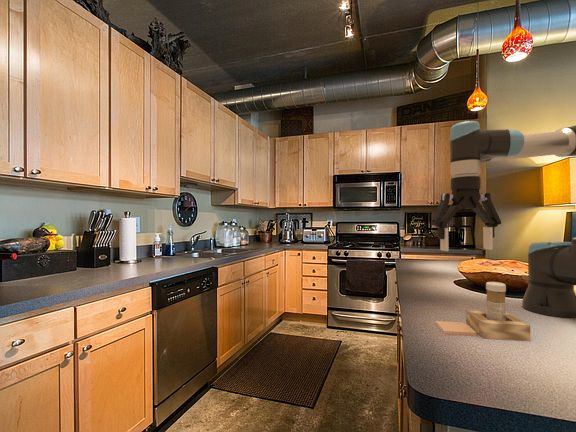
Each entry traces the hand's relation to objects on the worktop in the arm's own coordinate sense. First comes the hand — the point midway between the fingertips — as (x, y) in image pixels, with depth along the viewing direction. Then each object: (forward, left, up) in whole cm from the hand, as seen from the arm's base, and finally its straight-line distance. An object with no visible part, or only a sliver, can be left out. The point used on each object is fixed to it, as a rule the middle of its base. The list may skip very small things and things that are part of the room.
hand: (466, 250), depth 89 cm
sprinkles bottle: (-6, +3, -22) cm, 23 cm away
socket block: (-6, +3, -22) cm, 23 cm away
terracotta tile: (+4, +3, -22) cm, 23 cm away
